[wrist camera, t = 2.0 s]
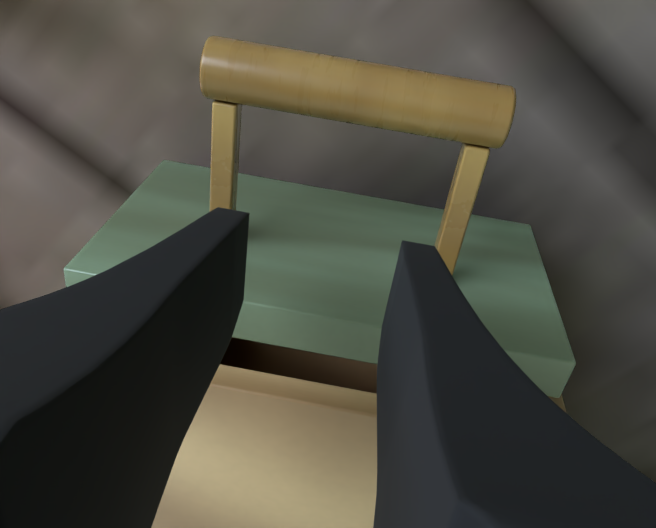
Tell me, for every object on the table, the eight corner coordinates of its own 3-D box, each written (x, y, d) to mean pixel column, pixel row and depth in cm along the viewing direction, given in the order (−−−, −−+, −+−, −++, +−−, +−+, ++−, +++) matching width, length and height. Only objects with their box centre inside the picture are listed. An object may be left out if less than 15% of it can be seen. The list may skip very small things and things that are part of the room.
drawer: (159, -12, 17) (31, 40, 11) (590, 60, 17) (681, 152, 11) (168, 415, 27) (102, 558, 21) (441, 467, 26) (447, 627, 21)
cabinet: (157, 196, 22) (29, 350, 15) (525, 263, 21) (581, 455, 14) (164, 442, 29) (82, 624, 22) (437, 495, 29) (444, 698, 22)
